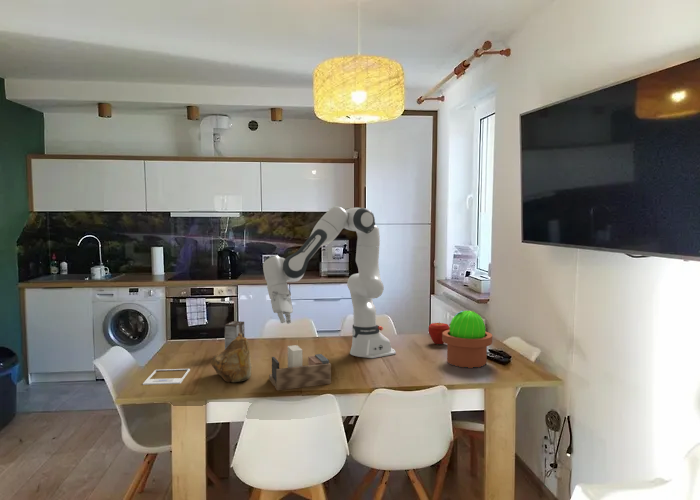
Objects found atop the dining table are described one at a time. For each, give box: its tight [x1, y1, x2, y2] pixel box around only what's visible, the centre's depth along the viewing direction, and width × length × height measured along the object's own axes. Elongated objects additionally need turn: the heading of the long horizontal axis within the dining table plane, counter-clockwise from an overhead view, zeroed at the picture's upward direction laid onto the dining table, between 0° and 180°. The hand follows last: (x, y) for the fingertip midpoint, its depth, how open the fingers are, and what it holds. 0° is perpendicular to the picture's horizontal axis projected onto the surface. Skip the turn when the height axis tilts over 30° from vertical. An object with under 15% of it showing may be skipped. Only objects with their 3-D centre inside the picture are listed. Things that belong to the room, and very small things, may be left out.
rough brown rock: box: [210, 336, 252, 383], centre depth 209 cm, size 23×17×15 cm
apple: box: [427, 321, 450, 345], centre depth 264 cm, size 11×11×12 cm
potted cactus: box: [442, 309, 493, 369], centre depth 229 cm, size 22×22×25 cm
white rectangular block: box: [287, 344, 303, 368], centre depth 202 cm, size 4×8×12 cm, turn 21°
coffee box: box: [224, 320, 245, 350], centre depth 239 cm, size 9×6×16 cm
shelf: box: [268, 353, 332, 391], centre depth 203 cm, size 22×14×10 cm, turn 111°
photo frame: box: [142, 368, 191, 386], centre depth 208 cm, size 15×1×18 cm
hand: (286, 323), depth 217 cm, fingers open, 8 cm apart
